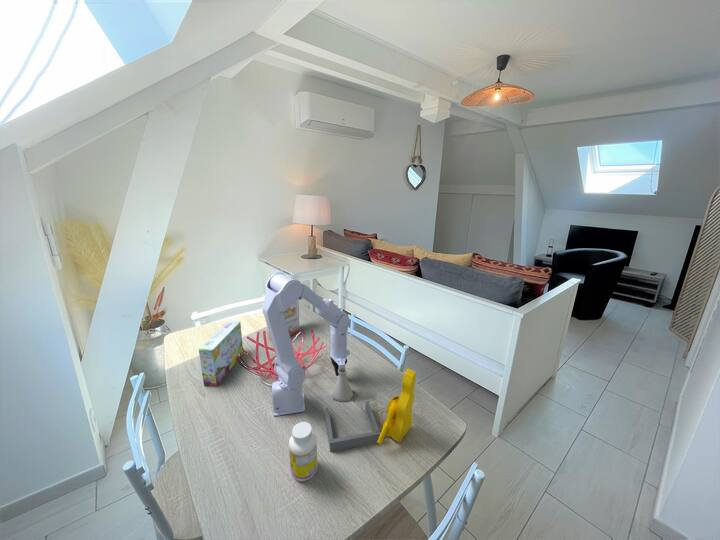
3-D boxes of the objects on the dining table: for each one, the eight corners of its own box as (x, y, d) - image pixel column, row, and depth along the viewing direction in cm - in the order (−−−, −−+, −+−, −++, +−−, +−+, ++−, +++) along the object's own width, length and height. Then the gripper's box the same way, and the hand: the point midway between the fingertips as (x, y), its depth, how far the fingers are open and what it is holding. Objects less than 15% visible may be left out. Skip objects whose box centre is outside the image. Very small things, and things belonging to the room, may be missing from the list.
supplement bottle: (292, 458, 74) (290, 418, 70) (318, 456, 75) (316, 417, 71) (288, 483, 68) (285, 442, 64) (316, 481, 68) (315, 440, 65)
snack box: (218, 387, 99) (213, 349, 95) (203, 386, 100) (196, 349, 95) (244, 352, 120) (240, 320, 115) (231, 352, 120) (227, 320, 116)
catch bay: (330, 451, 76) (329, 443, 75) (324, 416, 88) (324, 408, 87) (379, 441, 79) (380, 433, 78) (368, 408, 91) (368, 401, 90)
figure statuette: (399, 408, 91) (403, 348, 85) (422, 418, 87) (428, 357, 81) (370, 449, 77) (373, 381, 71) (396, 464, 73) (401, 394, 67)
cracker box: (276, 343, 127) (273, 300, 121) (268, 338, 131) (264, 296, 124) (300, 331, 138) (298, 291, 132) (292, 327, 141) (290, 288, 135)
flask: (350, 404, 93) (350, 378, 90) (329, 400, 94) (328, 375, 91) (355, 389, 99) (355, 365, 96) (335, 386, 101) (335, 362, 98)
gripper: (353, 352, 94) (353, 386, 98) (345, 330, 108) (345, 361, 112) (332, 354, 93) (333, 389, 97) (327, 332, 106) (328, 363, 110)
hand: (338, 374), depth 104 cm, fingers closed
